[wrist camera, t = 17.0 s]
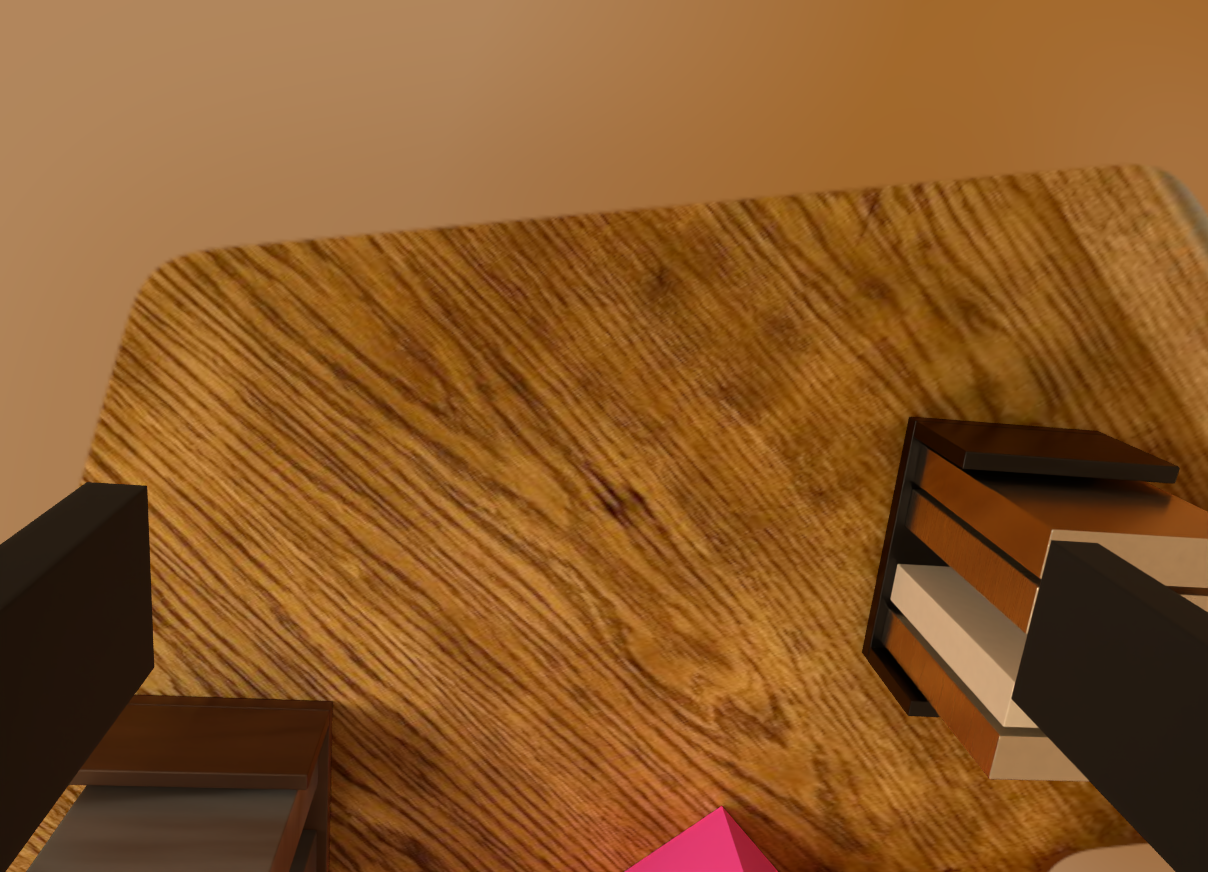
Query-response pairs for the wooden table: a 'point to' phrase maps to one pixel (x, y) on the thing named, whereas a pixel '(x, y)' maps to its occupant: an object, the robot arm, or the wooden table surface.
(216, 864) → the walnut book rack
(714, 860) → the bracket
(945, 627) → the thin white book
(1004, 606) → the black book rack
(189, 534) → the wooden table surface
